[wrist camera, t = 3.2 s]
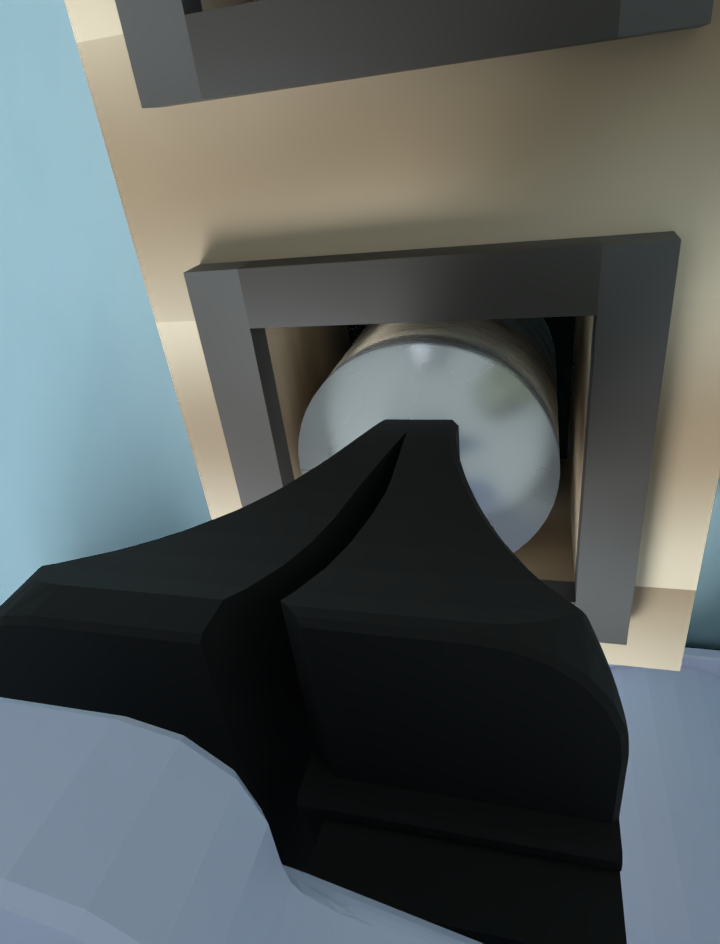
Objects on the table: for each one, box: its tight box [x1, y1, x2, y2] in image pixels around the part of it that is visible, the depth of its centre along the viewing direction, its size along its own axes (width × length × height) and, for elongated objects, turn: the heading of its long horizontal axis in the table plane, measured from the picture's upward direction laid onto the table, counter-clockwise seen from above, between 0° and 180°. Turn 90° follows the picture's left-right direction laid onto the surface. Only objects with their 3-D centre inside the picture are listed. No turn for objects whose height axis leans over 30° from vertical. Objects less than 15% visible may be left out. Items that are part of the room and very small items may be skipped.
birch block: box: [64, 0, 720, 671], centre depth 11 cm, size 20×10×6 cm, turn 7°
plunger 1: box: [298, 317, 560, 553], centre depth 13 cm, size 5×5×5 cm
